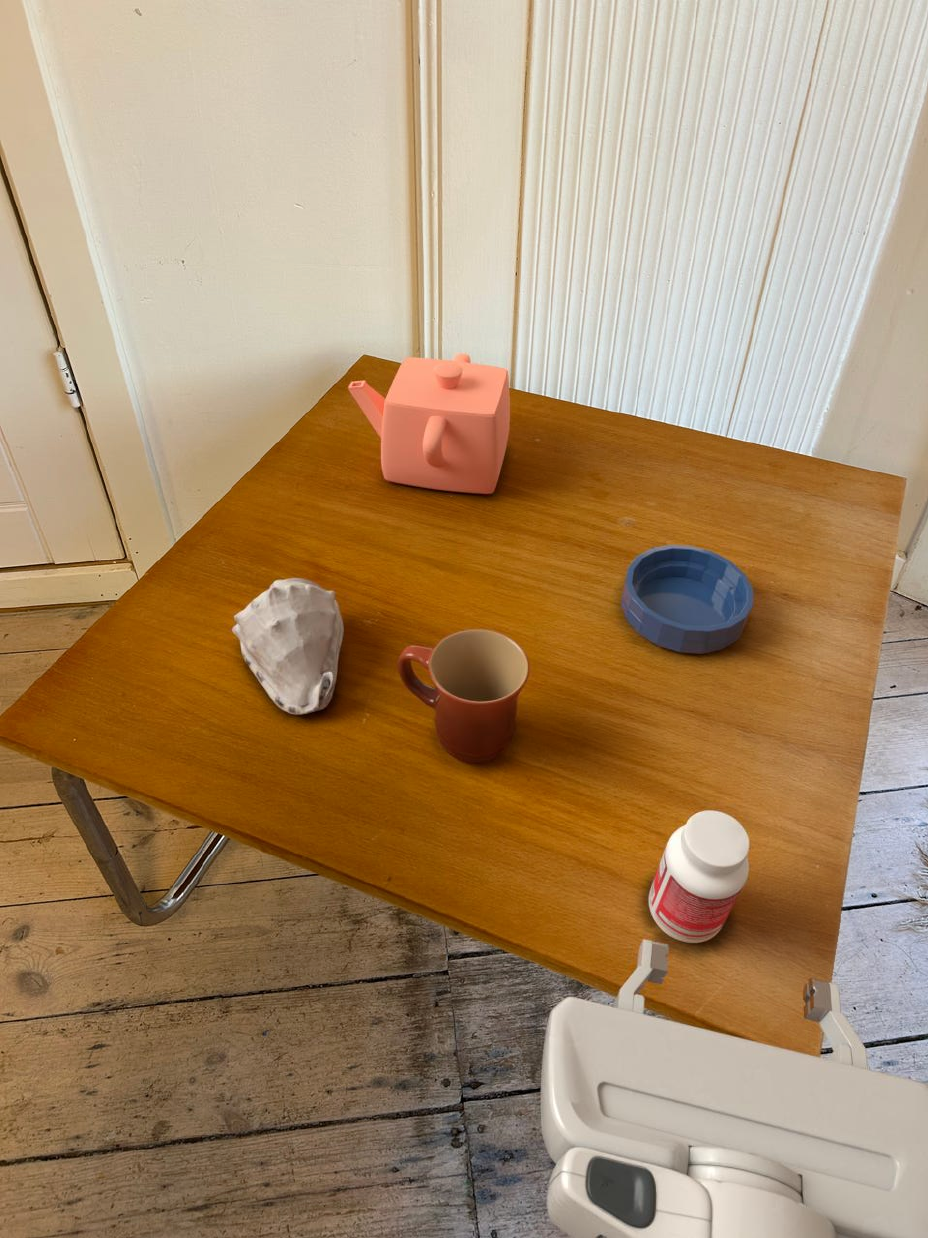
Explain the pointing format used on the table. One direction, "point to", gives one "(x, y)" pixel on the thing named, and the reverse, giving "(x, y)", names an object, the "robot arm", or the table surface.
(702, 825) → the pill bottle
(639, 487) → the table surface
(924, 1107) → the robot arm
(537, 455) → the table surface
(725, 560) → the bowl
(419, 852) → the table surface
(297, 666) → the seashell
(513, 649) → the mug
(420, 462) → the teapot
